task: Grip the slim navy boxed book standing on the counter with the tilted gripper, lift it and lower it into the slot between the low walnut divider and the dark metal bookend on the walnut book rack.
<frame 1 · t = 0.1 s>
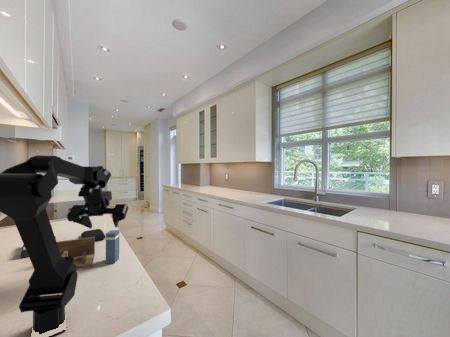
hand: (104, 227, 77), 15 cm above the worktop, tool tilted 35°, fingers open, 9 cm apart
carrying case or bag: (92, 239, 104), on the worktop
book rack: (75, 264, 77), on the worktop
calculator: (39, 250, 90), on the worktop
book: (112, 260, 80), on the worktop
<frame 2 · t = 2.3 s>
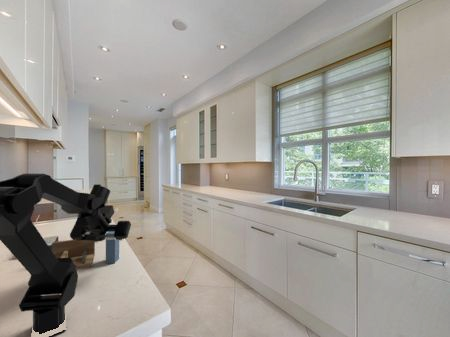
hand: (109, 239, 77), 10 cm above the worktop, tool tilted 45°, fingers open, 9 cm apart
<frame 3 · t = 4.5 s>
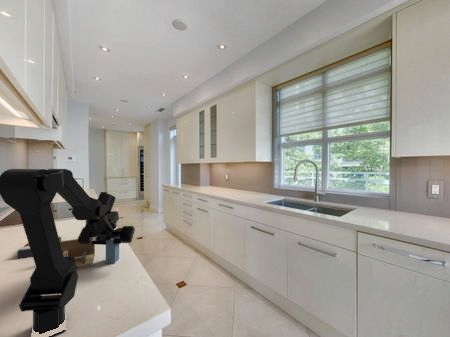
hand: (114, 243, 81), 7 cm above the worktop, tool tilted 45°, fingers closed on book, 3 cm apart
book: (112, 260, 80), on the worktop, touching gripper
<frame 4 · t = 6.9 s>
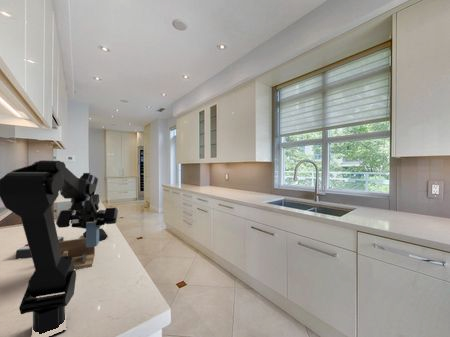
hand: (93, 227, 80), 14 cm above the worktop, tool tilted 45°, fingers closed on book, 3 cm apart
book: (92, 244, 79), point 7 cm above the worktop, touching gripper
when the fingers open (9 cm above the worktop, at t = 9.2 s): book drops 1 cm, resting on book rack.
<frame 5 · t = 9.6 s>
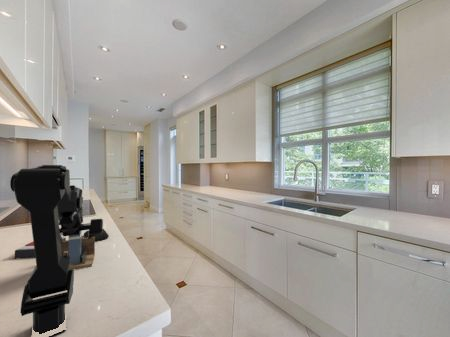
hand: (75, 240, 78), 9 cm above the worktop, tool tilted 45°, fingers open, 8 cm apart
book: (75, 261, 77), point 1 cm above the worktop, touching book rack
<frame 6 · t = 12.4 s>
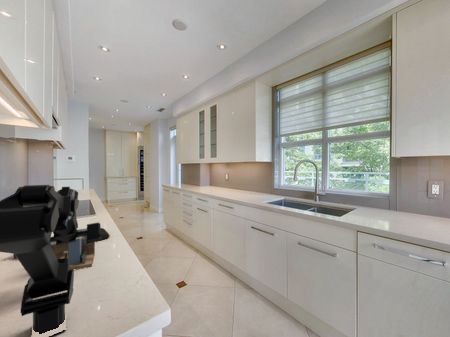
hand: (70, 248, 70), 9 cm above the worktop, tool tilted 45°, fingers open, 9 cm apart
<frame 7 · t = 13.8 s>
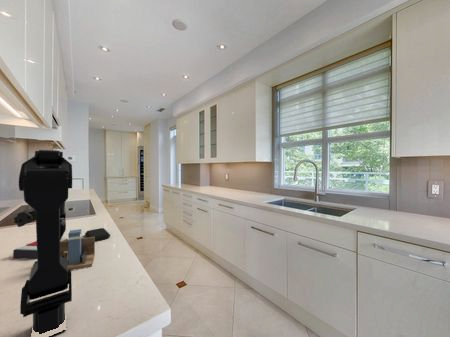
hand: (53, 247, 62), 13 cm above the worktop, tool pointing down, fingers open, 9 cm apart
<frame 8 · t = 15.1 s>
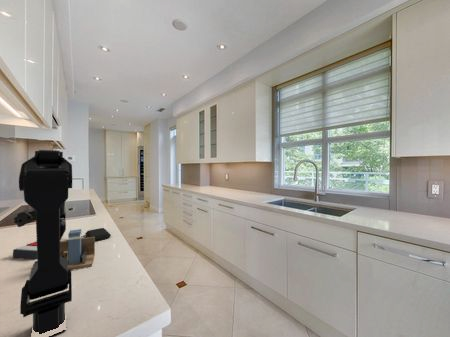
hand: (53, 247, 62), 13 cm above the worktop, tool pointing down, fingers open, 9 cm apart
at the end: book 0.0 cm off-centre on the book rack, point 1.0 cm above the book rack's base; book tilted 0°; the gripper is holding nothing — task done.
